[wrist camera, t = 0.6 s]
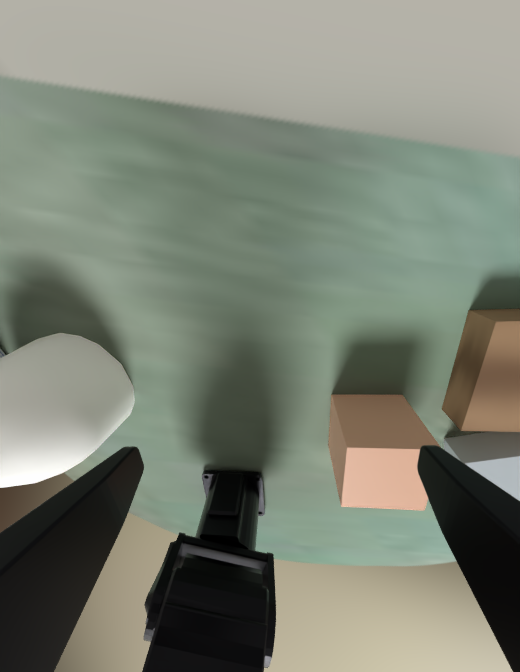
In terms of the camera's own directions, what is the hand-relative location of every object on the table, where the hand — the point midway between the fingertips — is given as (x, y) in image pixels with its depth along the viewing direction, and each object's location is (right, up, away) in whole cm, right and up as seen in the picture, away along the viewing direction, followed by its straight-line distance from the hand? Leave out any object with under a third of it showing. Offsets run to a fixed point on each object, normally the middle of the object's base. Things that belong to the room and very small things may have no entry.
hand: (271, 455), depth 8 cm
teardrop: (-18, -1, +17) cm, 24 cm away
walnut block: (+20, +2, +12) cm, 23 cm away
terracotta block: (+9, -4, +15) cm, 18 cm away
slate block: (+20, -7, +16) cm, 27 cm away
